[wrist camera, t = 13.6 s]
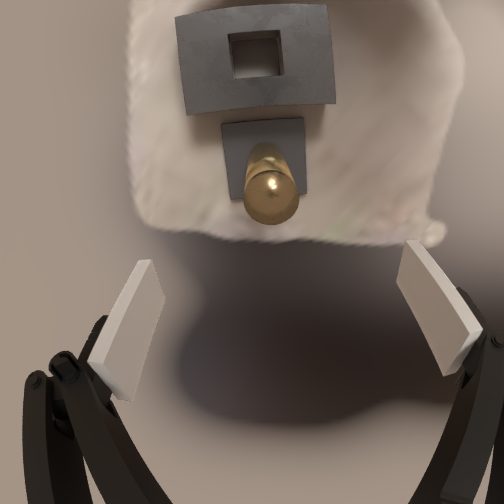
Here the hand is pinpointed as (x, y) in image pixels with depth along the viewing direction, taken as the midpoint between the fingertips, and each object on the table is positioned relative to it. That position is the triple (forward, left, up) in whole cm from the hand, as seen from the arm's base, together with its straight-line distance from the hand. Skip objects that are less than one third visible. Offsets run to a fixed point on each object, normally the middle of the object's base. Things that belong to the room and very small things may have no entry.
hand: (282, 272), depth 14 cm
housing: (-13, 0, -24) cm, 28 cm away
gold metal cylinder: (0, 0, -24) cm, 24 cm away
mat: (0, 0, -24) cm, 24 cm away
